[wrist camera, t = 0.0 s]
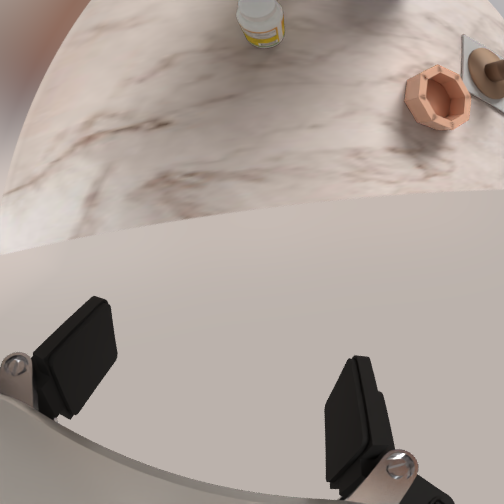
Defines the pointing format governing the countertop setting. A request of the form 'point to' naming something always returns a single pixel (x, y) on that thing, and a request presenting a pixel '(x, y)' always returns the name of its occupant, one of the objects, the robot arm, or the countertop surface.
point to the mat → (467, 48)
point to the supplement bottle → (261, 22)
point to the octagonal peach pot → (438, 98)
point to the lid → (487, 72)
